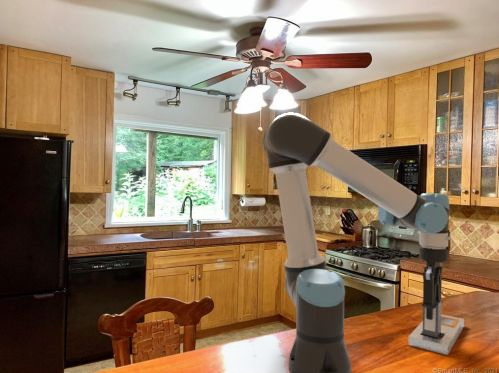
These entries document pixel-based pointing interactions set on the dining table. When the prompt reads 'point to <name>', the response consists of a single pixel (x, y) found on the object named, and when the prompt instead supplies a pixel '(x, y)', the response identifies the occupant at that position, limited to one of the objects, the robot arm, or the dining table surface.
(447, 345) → the grey peg hole board
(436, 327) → the steel peg
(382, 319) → the dining table surface
